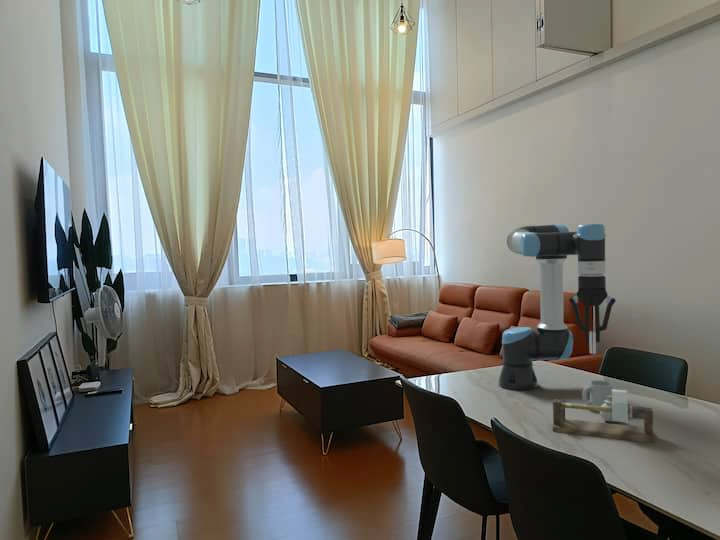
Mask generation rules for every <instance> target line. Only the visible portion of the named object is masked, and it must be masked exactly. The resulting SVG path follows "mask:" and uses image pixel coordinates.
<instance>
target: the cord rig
mask: <svg viewBox="0 0 720 540" xmlns="http://www.w3.org/2000/svg"><path fill="white" fill-rule="evenodd" d="M566 409H574V410H575V409H576V410H585V411H596V412H600V411H604V412H612V407H601V406H591V405H586V404H579V403H567V402H566V401H565V400H561V399H557V398H556V399H555V398H553V401H552V417H553V419H552V420H553V423H552V432H558V433H568V434H573V435H575V434H576V435H584V436H590V437H591V436H593V437H600V438H609V439H610V438H611V439H617V440H627V441H634V442H642V443H651V444H654V443H655V437H654V411H653V408H651V407H645V406H638V405H637V406H636V405H628V419H629V418H630V419H639V420H643V421H644V422H643V426H635V425H626V424H625V425H624V424H618V423H617V424H616V423H607V422H600V421H599V422H598V421H590V420H589V421H588V420H580V419H579V420H578V419H571V418H570V419H569V418H566Z"/></svg>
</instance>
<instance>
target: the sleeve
mask: <svg viewBox="0 0 720 540" xmlns="http://www.w3.org/2000/svg"><path fill="white" fill-rule="evenodd" d="M628 409H629V405H628V390H626V389H615V388H613V389H612V419H613V421H614V422H619V423H621V422H622V423H629V414H628Z"/></svg>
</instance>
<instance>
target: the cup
mask: <svg viewBox="0 0 720 540" xmlns="http://www.w3.org/2000/svg"><path fill="white" fill-rule="evenodd" d="M612 389H614V385H613V382H611V381H607V380H601V379H600V380H597V379H595V380H590V381H589V385H587V386H584V388H583V390H582V394H581V398H582V401H583V403H584V405H591V406H602V405H603V404H604V403H606V402H604V401H605V400H607V396H612ZM603 391H604V392H605V393H604V394H603V393H602V392H603ZM588 392H589V399H588ZM598 395H599V399H598V397H597V396H598ZM599 403H602V404H599Z"/></svg>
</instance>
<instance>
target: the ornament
mask: <svg viewBox="0 0 720 540" xmlns="http://www.w3.org/2000/svg"><path fill="white" fill-rule="evenodd" d="M602 393H603V394H604V393H605V392H604V391H603V392H602ZM597 397H598V399H599V395H598V396H597ZM604 402H606V403H604V404H603V405H602V406H601V407H612V396H607V400H605V401H604ZM599 404H602V403H599ZM599 414H600V417H601V418H602V419H603V420H604V421H605V422H609V423H614V422H615V421H613V419H612V412H604V411H599Z"/></svg>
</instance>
